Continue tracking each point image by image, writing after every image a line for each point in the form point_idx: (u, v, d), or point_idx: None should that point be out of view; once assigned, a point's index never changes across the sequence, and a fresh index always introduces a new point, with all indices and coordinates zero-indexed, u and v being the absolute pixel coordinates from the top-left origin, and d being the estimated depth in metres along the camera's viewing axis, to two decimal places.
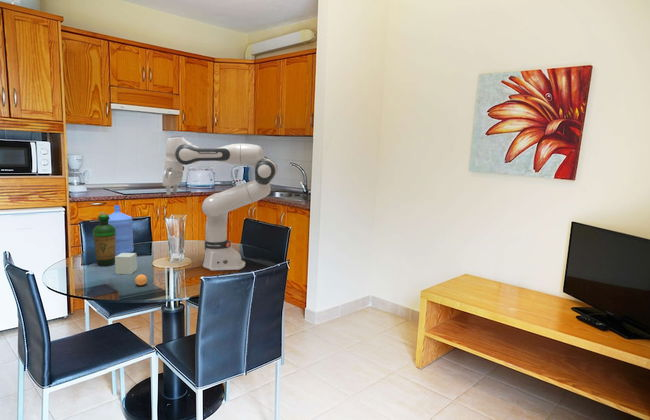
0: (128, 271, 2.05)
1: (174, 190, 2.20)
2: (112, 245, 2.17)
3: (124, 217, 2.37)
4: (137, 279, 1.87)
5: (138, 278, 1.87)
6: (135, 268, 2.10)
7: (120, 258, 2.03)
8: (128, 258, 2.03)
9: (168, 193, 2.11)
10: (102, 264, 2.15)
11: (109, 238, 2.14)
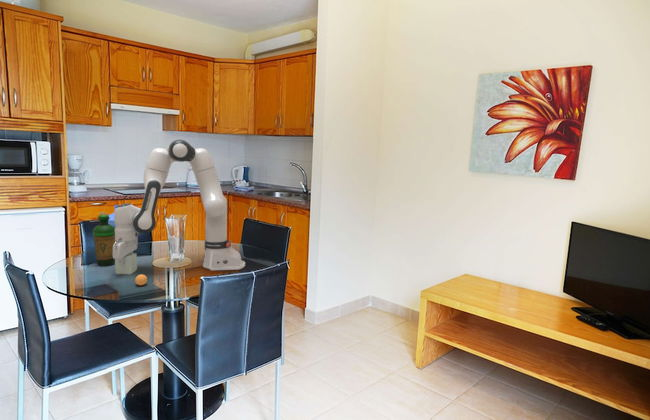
0: (128, 271, 2.05)
1: None
2: (112, 245, 2.17)
3: None
4: (137, 279, 1.87)
5: (138, 278, 1.87)
6: (135, 268, 2.10)
7: None
8: (128, 258, 2.03)
9: (121, 264, 2.02)
10: (102, 264, 2.15)
11: (109, 238, 2.14)
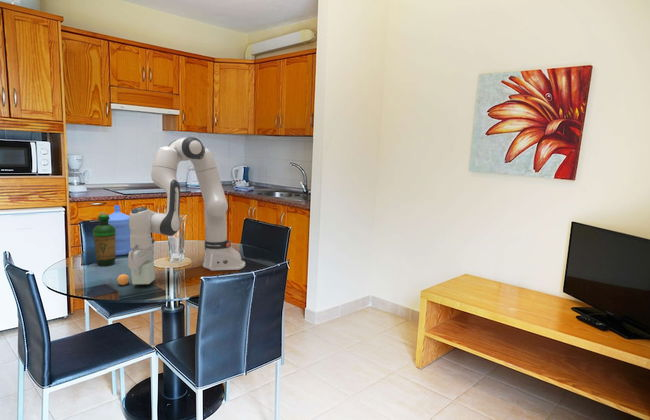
0: (146, 281, 1.86)
1: None
2: (112, 245, 2.17)
3: (124, 217, 2.37)
4: (123, 282, 1.87)
5: (122, 283, 1.88)
6: (153, 277, 1.92)
7: None
8: (145, 266, 1.85)
9: (137, 274, 1.84)
10: (102, 264, 2.15)
11: (109, 238, 2.14)
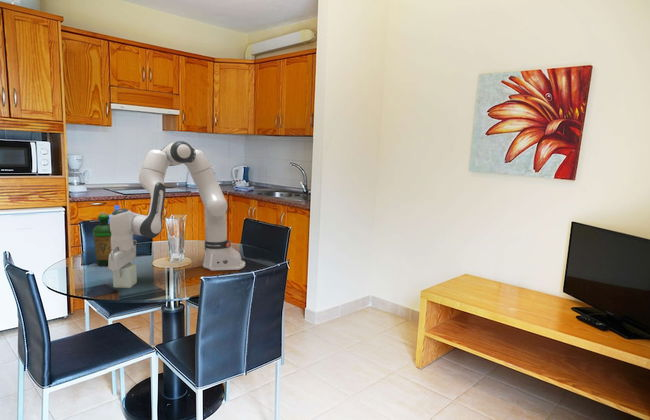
0: (127, 284, 1.86)
1: None
2: None
3: None
4: None
5: None
6: (135, 281, 1.92)
7: None
8: (127, 270, 1.85)
9: (118, 276, 1.84)
10: (102, 264, 2.15)
11: (109, 238, 2.14)
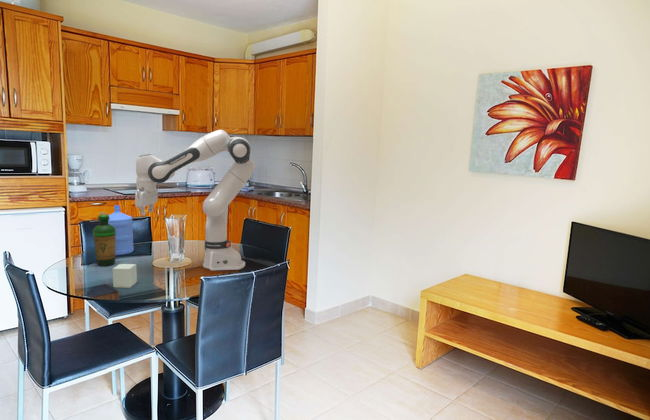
0: (127, 284, 1.86)
1: (150, 210, 2.14)
2: (112, 245, 2.17)
3: (124, 217, 2.37)
4: None
5: None
6: (135, 281, 1.92)
7: (118, 270, 1.85)
8: (127, 270, 1.85)
9: (143, 214, 2.04)
10: (102, 264, 2.15)
11: (109, 238, 2.14)
